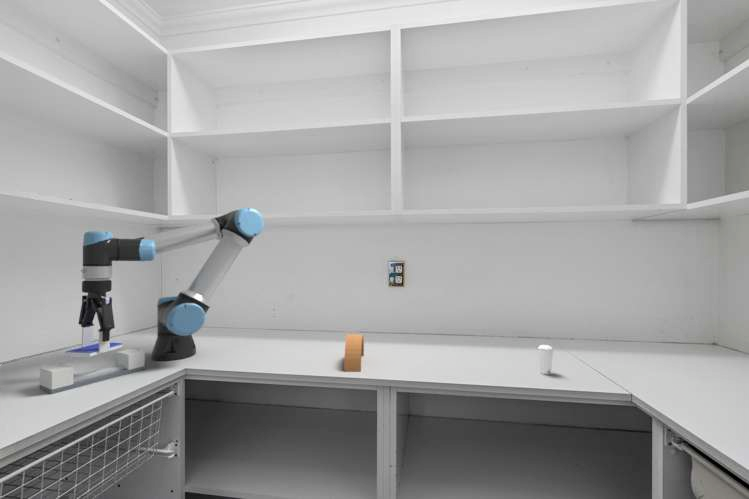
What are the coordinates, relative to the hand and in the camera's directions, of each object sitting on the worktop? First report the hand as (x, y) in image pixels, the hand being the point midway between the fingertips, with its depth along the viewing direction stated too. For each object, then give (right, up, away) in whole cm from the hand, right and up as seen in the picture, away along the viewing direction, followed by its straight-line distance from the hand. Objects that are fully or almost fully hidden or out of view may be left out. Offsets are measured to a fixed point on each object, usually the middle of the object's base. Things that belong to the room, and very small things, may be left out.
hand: (95, 349), depth 114 cm
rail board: (0, -9, 0) cm, 9 cm away
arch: (+82, -10, +16) cm, 84 cm away
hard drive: (0, -1, 0) cm, 1 cm away
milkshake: (+145, -9, +3) cm, 146 cm away
